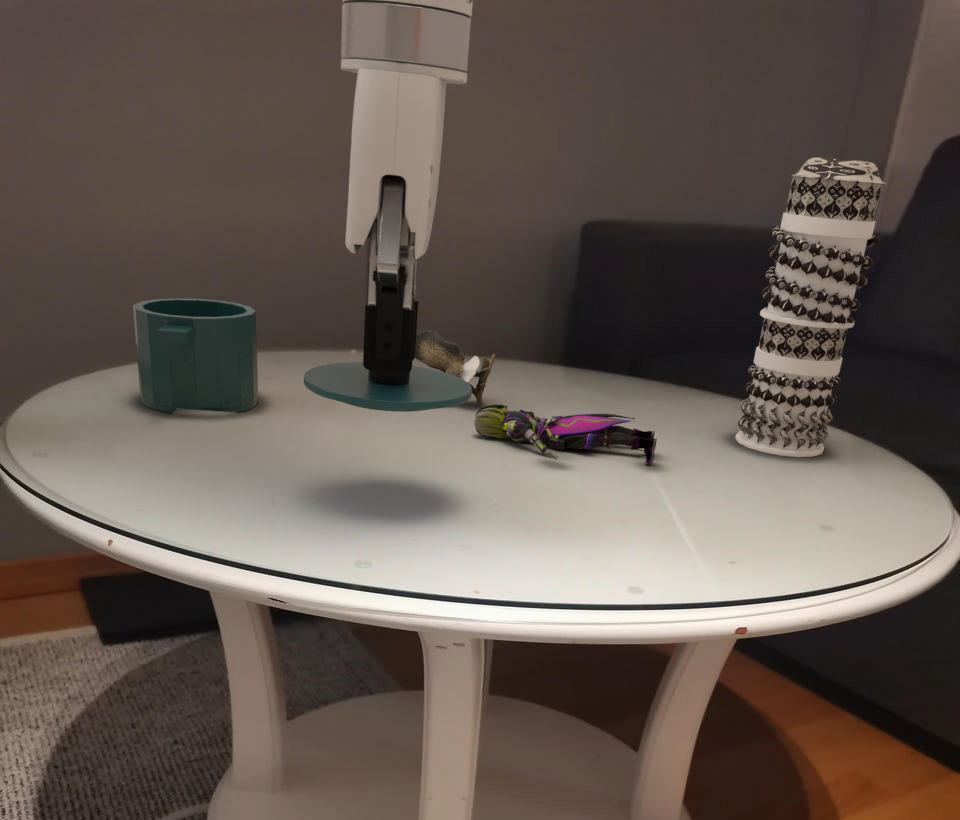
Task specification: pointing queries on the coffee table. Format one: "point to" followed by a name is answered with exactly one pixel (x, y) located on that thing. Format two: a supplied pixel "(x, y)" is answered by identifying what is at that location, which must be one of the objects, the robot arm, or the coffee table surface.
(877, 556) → the coffee table surface
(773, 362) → the decorative candle
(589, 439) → the character figure
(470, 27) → the robot arm
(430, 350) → the eagle figurine
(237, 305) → the pot
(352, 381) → the lid
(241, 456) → the coffee table surface
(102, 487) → the coffee table surface
